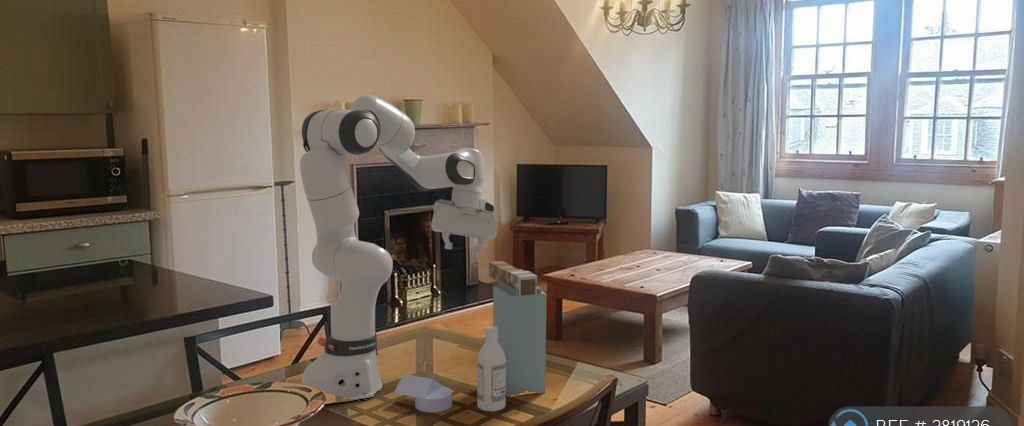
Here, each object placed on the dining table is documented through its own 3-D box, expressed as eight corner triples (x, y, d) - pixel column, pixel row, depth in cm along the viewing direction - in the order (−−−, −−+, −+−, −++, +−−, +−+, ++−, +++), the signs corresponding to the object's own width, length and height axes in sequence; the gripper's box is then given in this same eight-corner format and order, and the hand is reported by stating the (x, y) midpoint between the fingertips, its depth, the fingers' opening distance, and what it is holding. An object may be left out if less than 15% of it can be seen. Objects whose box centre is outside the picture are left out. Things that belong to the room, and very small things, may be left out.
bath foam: (509, 403, 194) (509, 324, 191) (500, 413, 187) (501, 332, 184) (482, 400, 196) (482, 322, 193) (473, 410, 189) (473, 330, 186)
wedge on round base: (394, 405, 192) (440, 415, 186) (393, 379, 191) (440, 387, 186) (413, 393, 200) (458, 402, 195) (413, 368, 199) (458, 376, 194)
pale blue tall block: (492, 381, 209) (493, 280, 205) (527, 377, 212) (528, 278, 208) (508, 397, 198) (509, 291, 194) (545, 392, 201) (546, 288, 197)
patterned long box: (487, 275, 217) (487, 258, 216) (503, 274, 219) (504, 257, 218) (519, 295, 195) (519, 277, 194) (536, 294, 197) (537, 275, 196)
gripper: (440, 196, 220) (435, 245, 218) (501, 208, 231) (498, 254, 228) (429, 199, 225) (425, 247, 223) (490, 210, 236) (486, 256, 234)
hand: (462, 251), depth 226 cm, fingers open, 8 cm apart
